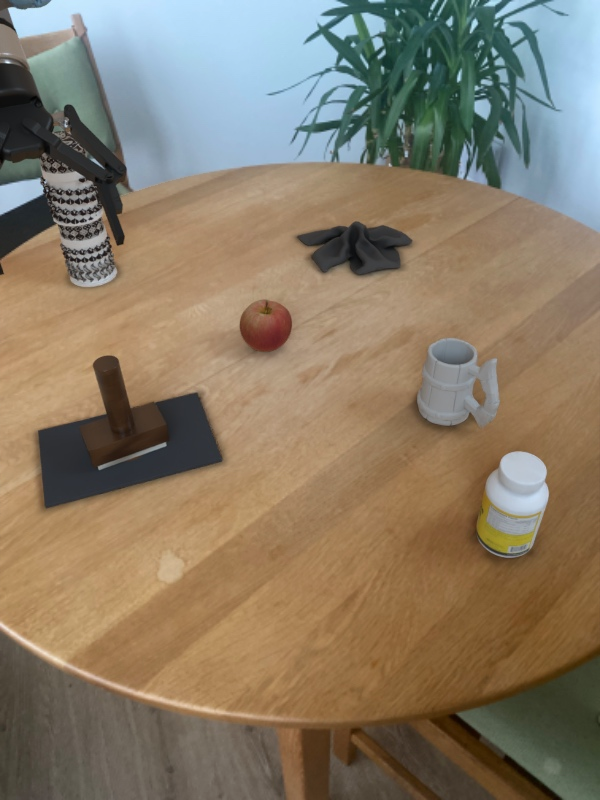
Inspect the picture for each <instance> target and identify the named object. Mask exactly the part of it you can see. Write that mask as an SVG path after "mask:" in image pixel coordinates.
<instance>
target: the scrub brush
mask: <svg viewBox="0 0 600 800" xmlns="http://www.w3.org/2000/svg"><path fill="white" fill-rule="evenodd" d="M92 368H93V372H94V375H95V378H96V379H95V380H96V382H97V386H98V389H99V393H100V396H101V400H102V404H103V407H104V411H105V414H107V417H106V418H103V419H100V420H97V421H94V422H91V423H88V424H85V425H82V426H79V430H80V433H81V436H82V439H83V442H84V445H85V447H86V450H87V452H88V455H89V457H90V460H91V462H92V465H93V467H94V468H95V467H98V469H99V470H101V469H104V468H107V467H110V466H112V465H115V464H118V463H121V462H124V461H126V460H129V459H132V458H135V457H137V456H140V455H143V454H146V453H149V452H151V451H154V450H157V449H160V448H162V447H165V446H167V445H166V442H168V441H170V438H169V433H168V429H167V424H166V422H165V420H164V419H163V417H162V415H161V413H160V411H159V409H158V408H157V406H156V404H155V402H156V401H151V402H148V403H144V404H142V405H139V407H138V406H135V407H136V408H134V407H131V404H130V403H131V402H130V400H129V395H128V391H127V389H126V388H127V387H126V384H125V380H124V376H123V372H122V368H121V363H120V360H119V358H118V357H117V356H114V355H112V354H111V355H102V356H100V357H98V358H96V359H95V360H94V361H93V363H92ZM131 408H133V409H131Z"/></svg>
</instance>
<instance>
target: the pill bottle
mask: <svg viewBox="0 0 600 800" xmlns="http://www.w3.org/2000/svg"><path fill="white" fill-rule="evenodd" d="M547 473H548V471H547V467H546V464H545V463H544V462H543V460H541V458H539V457H538V456H536V455H534V454H533V453H530V452H527V451H520V450H519V451H511V452H508V453H506V454H505V455H503V456H502V457H501V459H500V461H499V465H498V468H496V469H495V470H493V471H492V472H491V473H490V474H489V475H488V477H487V480H486V482H485V484H484V485H485V486H484V491H483V493H482V499H481V503H480V507H479V512H478V515H477V516H478V517H477V520H476V526H475V533H476V537H477V540H478V542H479V544H480V545H481V546H482V547H483V548H484V549H485V550H487V551H488V553H489V552H490V553H491V554H493V555H495V556H498V557H501V558H508V559H510V558H518V557H521V556H524V555H525V554H527V553H529V551H530V550H531V549H532V548H533V546H534V544H535V542H536V541H535V540H536V537H537V534H538V532H539V529H540V526H541V522H542V521H543V517H544V514H545V511H546V508H547V506H548V501H549V498H550V496H549V495H550V492H549V487H548V484H547V483H546V477H547Z"/></svg>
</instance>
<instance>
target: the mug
mask: <svg viewBox="0 0 600 800" xmlns="http://www.w3.org/2000/svg"><path fill="white" fill-rule="evenodd" d="M426 352H427V353H426V357H425V361H424V362H423V365H422V370H421V371H422V373H421V376H422V380H421V386H420V387H419V389H418V391H417V394H416V403H417V407H418V411H419V414H420V415H421V416H422V417H423V418H424V419H426V420H427V421H428V422H430V423H432V424H436V425H439V426H444V427H449V426H456V425H460V424H462V423H464V421H466V420H467V419H468V418H469V416H470V414H471V415H472V416H473V418H474V419H475V422H476V424H477V425H478V427H479V428H481V429H483V428H484V427H486V426H487V425H488V424H490V423H492V422H493V420H494V419H496V416H497V412H498V410H499V407H500V404H501V403H500V402H501V400H500V393H499V392H500V391H499V385H498V374H497V364H498V358H496V357H494V358H491V359H488V360H486V361H485V362H483V363H482V365H481V366H478V365H477V364H478V350H477V349H476V347H475V346H474V345H473V344H472V343H469V342H468V341H466V340H463V339H461V338H456V337H446V338H445V337H444V338H440V339H438V340H437V341H433V342H432V343H430V345H429V346H428V348H427V351H426ZM477 379H478V380H479V381H480V382H479V383H480V385H481V388H482V391H483V393H484V395H485V397H484V403H483V404H480V403H479V402H478V401H477V400H476V399H475V398H474V394H473V393H474V386H475V385H474V384H475V382H476V381H477Z"/></svg>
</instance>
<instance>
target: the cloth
mask: <svg viewBox="0 0 600 800" xmlns="http://www.w3.org/2000/svg"><path fill="white" fill-rule="evenodd" d="M296 237H297V238H298V240H300V242H301V243H302V244H304V245H306V246H314V245H322V244H324V243H325V244H324V245H322V246H320V247H319V248H317V249H315V250H314V251H313V253H312V254H311V259H312V260H314V262H315V263H316V264H317V266H318V268H319V269H320V270H321V271H322V272H323V273H326V272H329V270H330V269H331V268H332V267H335V266H338V265H340V264H344V263H346V262H348V261H349V262H350V263H349V268H350V270H351V271H352V272H354V273H355V274H357V275H359V276H360V275H364V274H369V273H373V272H378V271H383V270H391V269H400V267H401V257H400V253H399V250H398V249H396V248H395V247H402V246H409V245H410V244H411V243H412V242H413V239H411V237H409V235H407V234H406V233H405V232H403V231H400V230H398V229H395V228H393V227H391V226H388V225H384V224H382V225H378V226H374V227H367V225H365V224H364V223H363V222H360V221H358V220H357V221H356V220H355V221H353V222H352V223H351V224H350V225H349V226H347V225H337V226H333V227H331V228H330V229H328V228H327V229H321V230H316V231H311V232H308V233H303V234H302V233H301V234H299V235H297V236H296Z"/></svg>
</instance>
